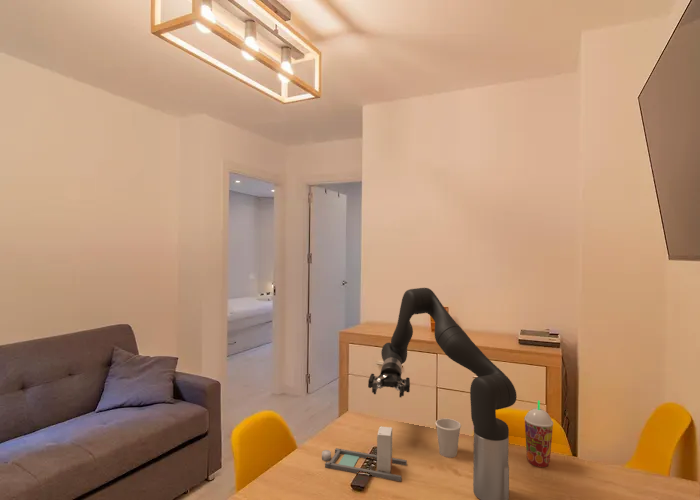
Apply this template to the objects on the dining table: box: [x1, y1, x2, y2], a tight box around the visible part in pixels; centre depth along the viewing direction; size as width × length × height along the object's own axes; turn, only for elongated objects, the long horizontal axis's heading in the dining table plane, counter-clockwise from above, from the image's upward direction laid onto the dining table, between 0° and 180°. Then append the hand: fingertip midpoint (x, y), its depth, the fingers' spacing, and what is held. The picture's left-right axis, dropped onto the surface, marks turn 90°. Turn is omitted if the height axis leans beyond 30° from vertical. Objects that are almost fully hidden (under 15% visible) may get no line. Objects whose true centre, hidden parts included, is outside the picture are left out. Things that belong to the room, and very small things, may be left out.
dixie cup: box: [435, 417, 462, 459], centre depth 134 cm, size 8×8×10 cm
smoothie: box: [524, 400, 554, 468], centre depth 128 cm, size 8×8×20 cm
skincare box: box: [376, 426, 393, 474], centre depth 124 cm, size 6×4×12 cm
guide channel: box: [321, 447, 408, 483], centre depth 127 cm, size 27×10×2 cm, turn 72°
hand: (387, 393), depth 132 cm, fingers open, 8 cm apart
